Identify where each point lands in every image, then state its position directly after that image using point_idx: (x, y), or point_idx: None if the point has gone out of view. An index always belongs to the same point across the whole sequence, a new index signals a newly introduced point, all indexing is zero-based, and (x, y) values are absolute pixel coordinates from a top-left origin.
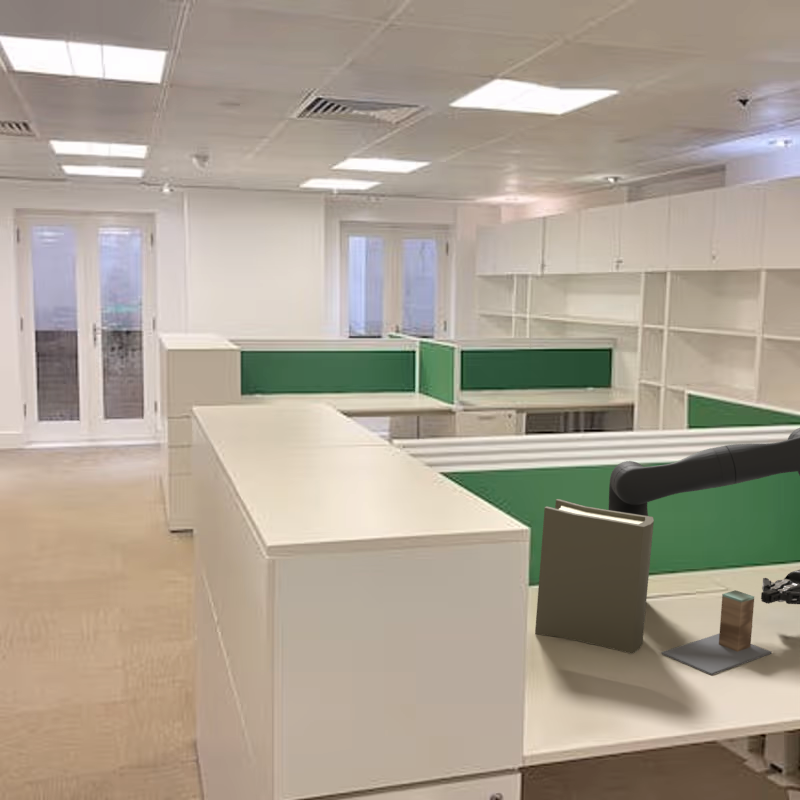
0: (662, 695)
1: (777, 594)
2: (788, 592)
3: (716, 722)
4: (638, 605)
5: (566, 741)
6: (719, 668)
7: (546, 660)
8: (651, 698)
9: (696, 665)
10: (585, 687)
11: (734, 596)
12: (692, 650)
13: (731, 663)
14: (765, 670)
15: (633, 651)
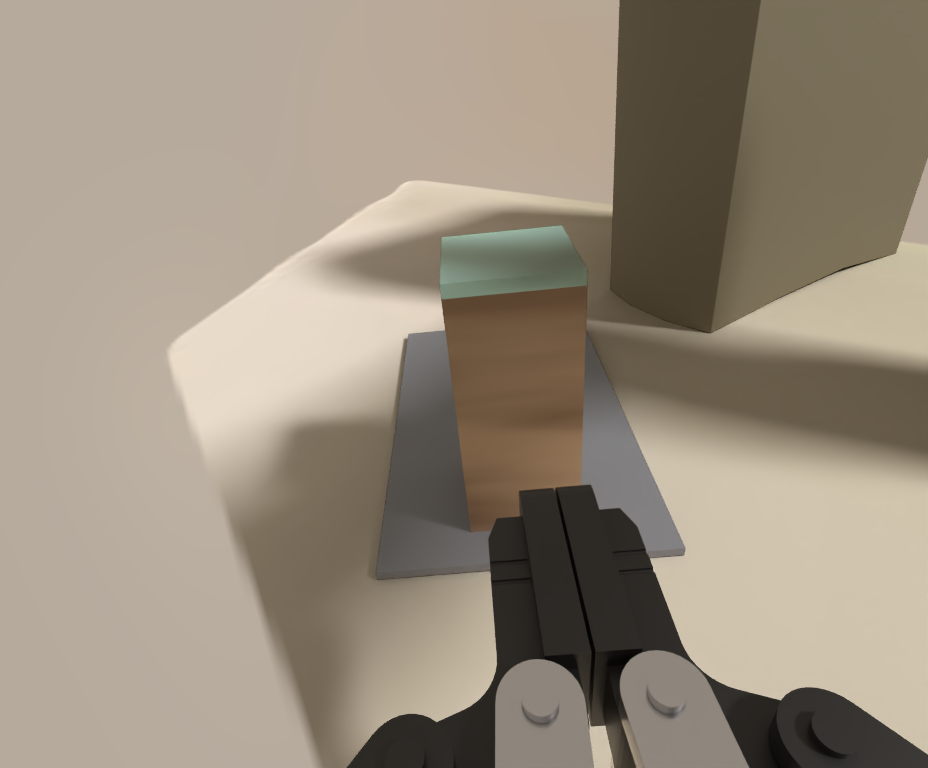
0: (412, 262)
1: (503, 613)
2: (414, 733)
3: (288, 272)
4: (621, 152)
5: (404, 192)
6: (413, 357)
7: None
8: (416, 252)
9: None
10: (508, 221)
11: (501, 238)
12: None
13: (413, 393)
14: (315, 448)
15: (614, 288)
